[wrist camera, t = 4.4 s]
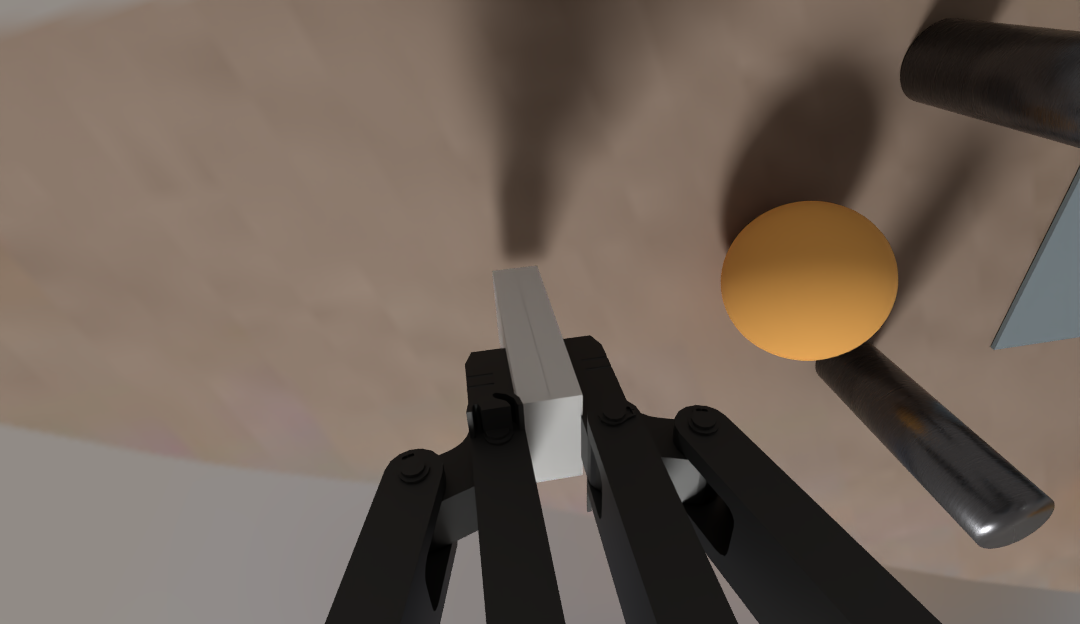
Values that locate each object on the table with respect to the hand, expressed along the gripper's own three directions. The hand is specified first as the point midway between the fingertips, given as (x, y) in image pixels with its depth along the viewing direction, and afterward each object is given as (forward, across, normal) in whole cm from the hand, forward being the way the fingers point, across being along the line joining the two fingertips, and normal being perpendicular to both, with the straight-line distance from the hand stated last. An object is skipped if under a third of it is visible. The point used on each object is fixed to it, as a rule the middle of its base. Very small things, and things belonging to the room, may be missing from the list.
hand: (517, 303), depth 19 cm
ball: (-1, +10, 0) cm, 10 cm away
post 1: (+2, +15, +6) cm, 16 cm away
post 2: (+2, +15, -6) cm, 16 cm away
